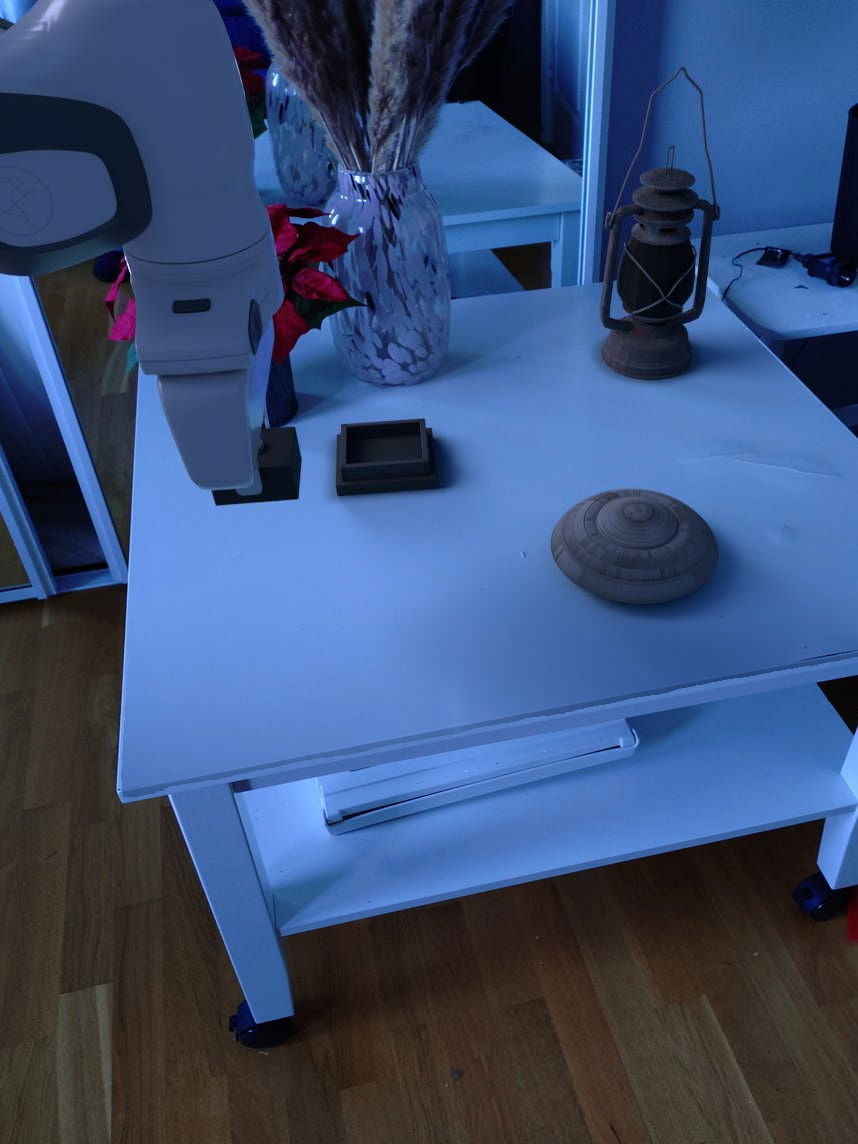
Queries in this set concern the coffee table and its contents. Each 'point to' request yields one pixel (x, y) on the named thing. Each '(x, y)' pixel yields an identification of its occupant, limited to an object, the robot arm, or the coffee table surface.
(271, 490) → the small block
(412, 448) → the black open box
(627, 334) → the lantern
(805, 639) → the coffee table surface
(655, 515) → the flying saucer
